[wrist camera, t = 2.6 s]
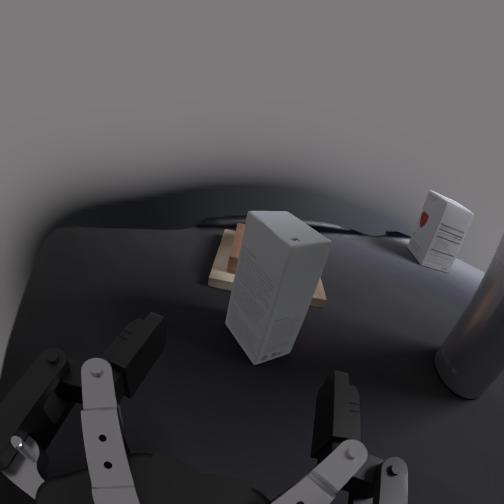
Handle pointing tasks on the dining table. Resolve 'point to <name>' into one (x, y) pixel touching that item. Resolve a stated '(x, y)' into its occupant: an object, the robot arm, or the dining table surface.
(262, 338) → the skincare box
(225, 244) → the serum stand
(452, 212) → the supplement box
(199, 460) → the dining table surface
